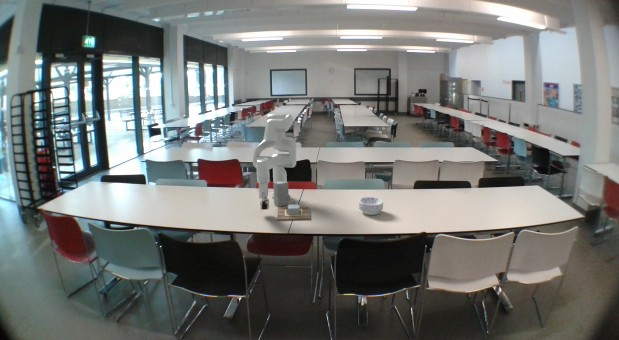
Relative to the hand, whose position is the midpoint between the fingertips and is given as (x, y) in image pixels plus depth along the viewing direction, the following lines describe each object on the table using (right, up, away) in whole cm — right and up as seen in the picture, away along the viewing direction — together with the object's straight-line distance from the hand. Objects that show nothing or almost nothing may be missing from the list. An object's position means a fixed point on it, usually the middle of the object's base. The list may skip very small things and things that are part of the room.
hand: (264, 207), depth 217 cm
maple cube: (0, -1, 0) cm, 1 cm away
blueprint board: (+18, -5, +2) cm, 19 cm away
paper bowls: (+66, -4, +4) cm, 67 cm away
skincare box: (+9, -1, +20) cm, 21 cm away
